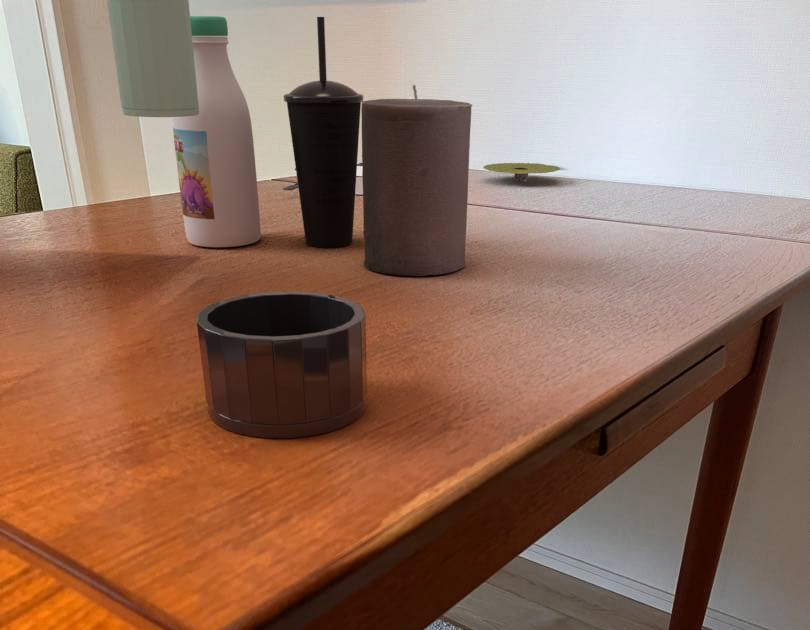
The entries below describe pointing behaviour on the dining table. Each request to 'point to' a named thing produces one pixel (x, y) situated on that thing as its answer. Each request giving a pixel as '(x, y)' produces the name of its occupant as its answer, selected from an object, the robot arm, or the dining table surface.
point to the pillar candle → (415, 185)
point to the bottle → (154, 57)
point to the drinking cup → (325, 153)
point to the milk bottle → (217, 148)
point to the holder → (284, 363)
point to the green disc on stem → (521, 169)
